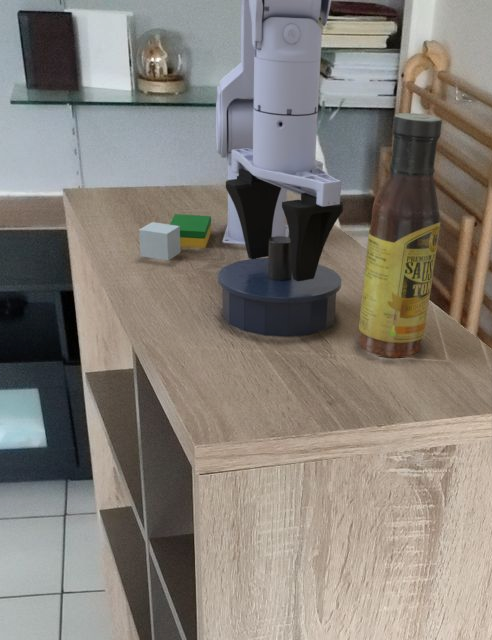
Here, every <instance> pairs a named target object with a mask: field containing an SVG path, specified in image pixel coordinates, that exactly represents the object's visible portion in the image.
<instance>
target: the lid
mask: <svg viewBox="0 0 492 640" xmlns="http://www.w3.org/2000/svg"><path fill="white" fill-rule="evenodd" d="M217 283H218V285H219V286H220V287H221V288H222V290H223V289H225V290H226V291H228V292H230V293H232V294H234V295H237V296H240V297H243V298H247V299H252V300H257V301H263V302H273V303H301V302H310V301H316V300H321V299H324V298H327V297H330V296H332V295H334V294H336V295H337V293H338V292H339V291H340V290H341V288H342V278H341V276H340V274H338V273H337V272H336V271H335V270H333V269H331V268H329V267H327V266H326V265H323V264H319V263H318V267H317V270H316V273H315V276H314V279H309V280H304V281H296V280H294V279H293V275H292V267H291V241H290V236H288V237H284V236H275V237H271V238H269V243H268V257H262V258H257V259H250V258H248V259H243V260H238V261H235V262H231V263H229V264H227V265H225V266H224V267H222V268H220V270H219V271H218V273H217Z"/></svg>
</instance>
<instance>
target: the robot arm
mask: <svg viewBox="0 0 492 640" xmlns="http://www.w3.org/2000/svg"><path fill="white" fill-rule="evenodd" d="M331 4H332V0H241V1H240V6H241V7H240V62H239V63H238V65H236V66H235V67H233V68H232V69H231V70H230V71H229V72H228V73H227V74H225V75H224V76H223V77H222V78H221V79H220V80H219V83H218V85H217V87H216V103H215V141H216V152H217V154H218V155H219V156H220V157H221V158H222V159H224V158H225V159H226V162H227V180H226V181H225V189H226V191H227V225H226V227H225V231H224V234H223V238H222V241H221V242H222V243H223V244H236V245H245V250H246V253H247V258H248V259H258V258H268V243H269V238H271V237H275V236H284V237H289V238H290V241H291V267H292V275H293V279H294V280H296V281H304V280H309V279H314V276H315V273H316V270H317V267H318V264H319V263H320V260H321V258H322V257H321V255H322V253H323V250H324V247H325V245H326V242H327V239H328V237H329V236H330V233H331V231H332V229H333V228H334V226H335V224H336V223H337V221H338V219H339V217H340V216H341V215H342V214H343V211H344V203H343V202H342V201H341V193H342V180H340V179H337V178H335V177H333V176H332V175H331V174H329V173H328V172H327V171H325V170H324V162H323V161H320V160H318V159H317V160H316V153H317V152H316V151H317V133H318V130H317V129H318V116H319V115H318V113H319V97H320V96H319V95H320V79H321V78H320V77H321V60H322V41H323V38H322V37H323V28H322V27H321V26H320V25H319V21H320V22H321V25H322V26H323V27H325V26H326V25H327V23H328V19H329V14H330V9H331ZM288 191H289V192H292V193H294V194H296V195H299V196H300V199H293V200H287V197H288V195H287V194H288ZM286 223H287V224H286Z"/></svg>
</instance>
